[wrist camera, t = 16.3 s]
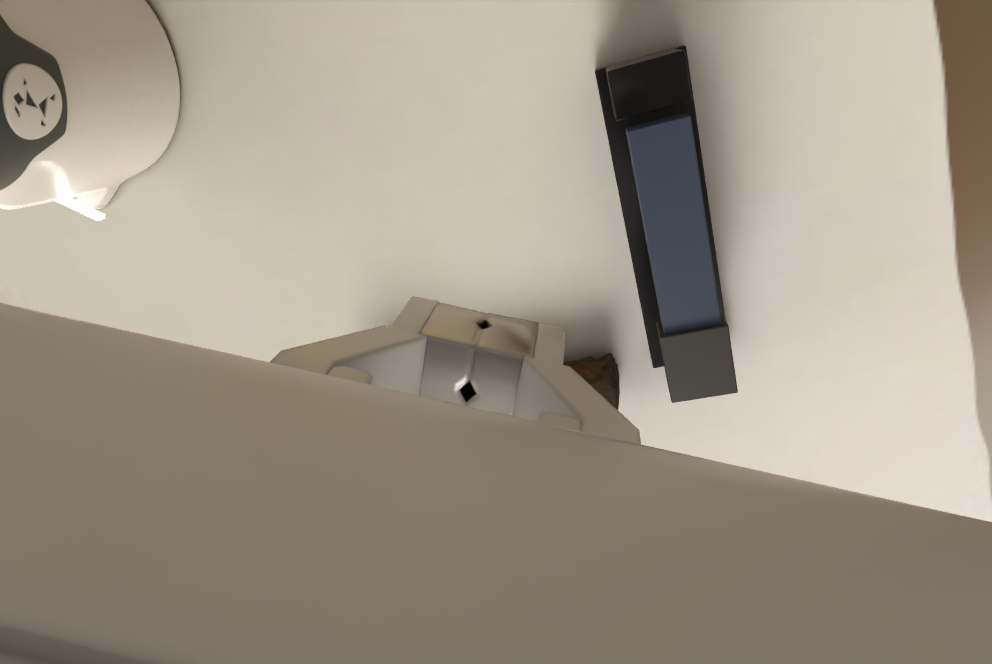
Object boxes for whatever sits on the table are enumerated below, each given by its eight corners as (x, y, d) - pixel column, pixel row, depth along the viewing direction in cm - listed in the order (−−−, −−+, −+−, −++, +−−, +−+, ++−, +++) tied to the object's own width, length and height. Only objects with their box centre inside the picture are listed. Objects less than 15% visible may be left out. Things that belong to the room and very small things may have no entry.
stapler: (727, 347, 45) (743, 386, 40) (651, 360, 46) (659, 399, 41) (683, 45, 37) (697, 46, 33) (594, 69, 39) (595, 74, 34)
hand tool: (617, 344, 46) (620, 375, 42) (619, 393, 47) (621, 427, 43) (365, 352, 49) (343, 381, 45) (374, 398, 51) (354, 430, 46)
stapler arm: (730, 374, 40) (738, 393, 38) (667, 384, 41) (671, 403, 38) (691, 110, 34) (698, 114, 32) (619, 128, 35) (621, 134, 33)
